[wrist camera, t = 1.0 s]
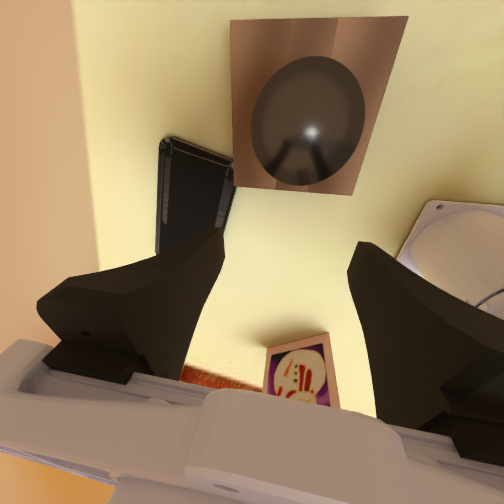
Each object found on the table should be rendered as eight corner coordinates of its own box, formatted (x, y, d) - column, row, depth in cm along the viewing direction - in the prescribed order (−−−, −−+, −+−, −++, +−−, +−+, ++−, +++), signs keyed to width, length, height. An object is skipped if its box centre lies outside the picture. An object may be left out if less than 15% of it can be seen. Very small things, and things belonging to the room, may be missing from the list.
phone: (241, 165, 18) (210, 277, 27) (244, 162, 19) (213, 272, 28) (158, 132, 18) (153, 257, 27) (164, 131, 19) (158, 252, 28)
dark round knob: (340, 82, 12) (384, 55, 6) (324, 156, 14) (345, 189, 8) (272, 81, 12) (252, 55, 7) (267, 153, 15) (249, 182, 9)
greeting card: (326, 329, 30) (346, 474, 18) (347, 355, 33) (378, 497, 21) (264, 345, 36) (248, 467, 24) (287, 366, 38) (284, 485, 26)
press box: (380, 38, 13) (408, 16, 10) (341, 180, 18) (351, 195, 15) (244, 40, 14) (229, 20, 11) (244, 173, 19) (234, 186, 16)
